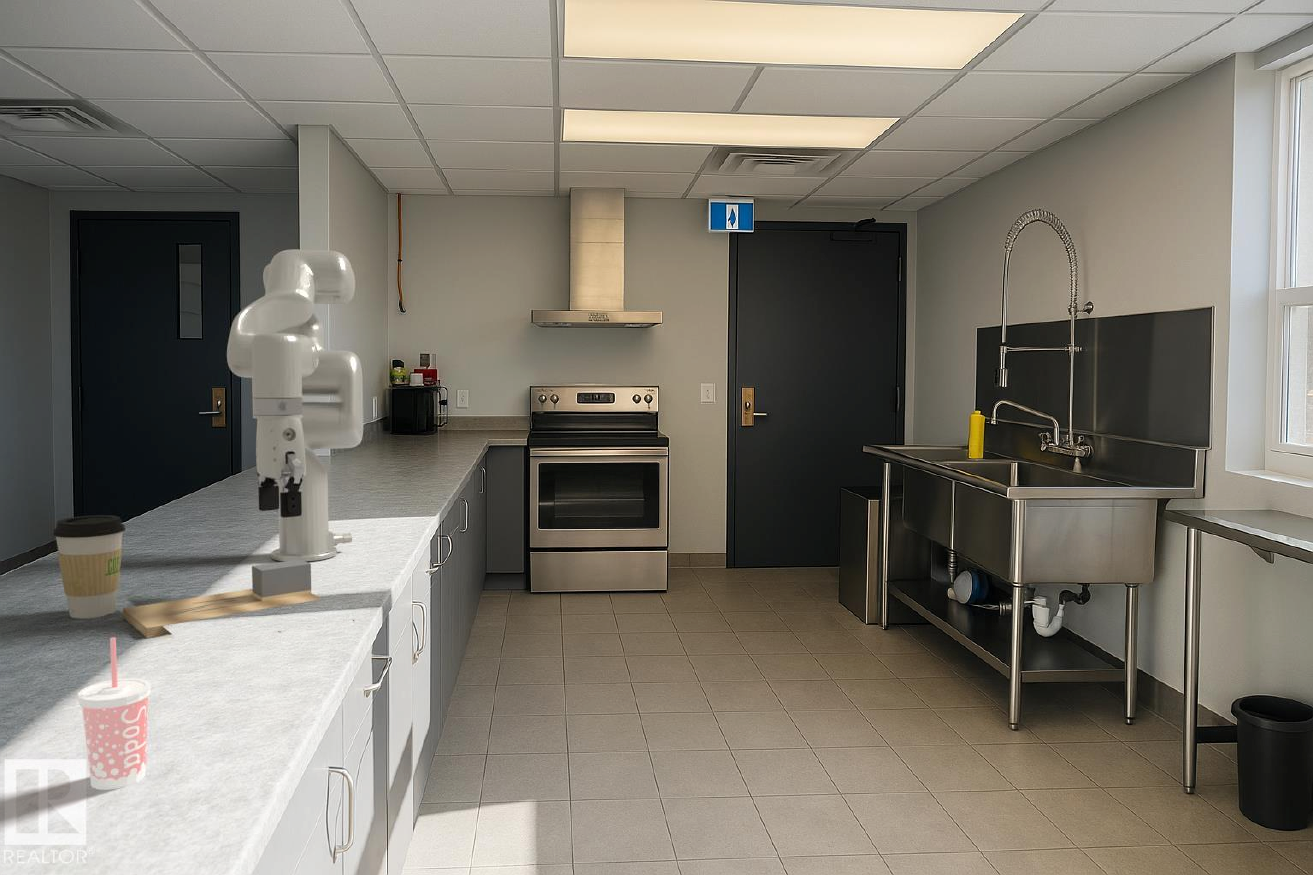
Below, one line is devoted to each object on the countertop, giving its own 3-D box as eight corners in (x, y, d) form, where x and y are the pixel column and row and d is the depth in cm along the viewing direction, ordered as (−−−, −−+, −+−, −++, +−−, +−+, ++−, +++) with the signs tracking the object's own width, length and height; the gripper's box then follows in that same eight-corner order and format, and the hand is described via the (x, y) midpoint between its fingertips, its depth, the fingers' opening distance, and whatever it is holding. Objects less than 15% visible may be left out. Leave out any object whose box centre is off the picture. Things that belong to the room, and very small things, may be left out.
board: (290, 591, 164) (290, 582, 163) (323, 607, 153) (322, 598, 153) (123, 617, 146) (123, 608, 146) (147, 638, 136) (146, 627, 136)
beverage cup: (94, 799, 87) (88, 651, 85) (72, 779, 91) (66, 638, 90) (164, 778, 91) (159, 637, 90) (140, 759, 95) (135, 625, 94)
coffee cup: (142, 608, 152) (139, 516, 150) (88, 624, 142) (84, 527, 141) (97, 602, 155) (93, 512, 154) (40, 617, 146) (36, 522, 144)
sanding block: (301, 588, 160) (300, 559, 159) (311, 593, 157) (310, 563, 156) (252, 595, 155) (251, 565, 154) (262, 601, 151) (261, 570, 151)
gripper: (321, 410, 149) (323, 517, 150) (281, 407, 162) (283, 505, 163) (273, 411, 144) (276, 521, 145) (236, 408, 157) (238, 509, 158)
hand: (279, 513), depth 154 cm, fingers open, 9 cm apart
